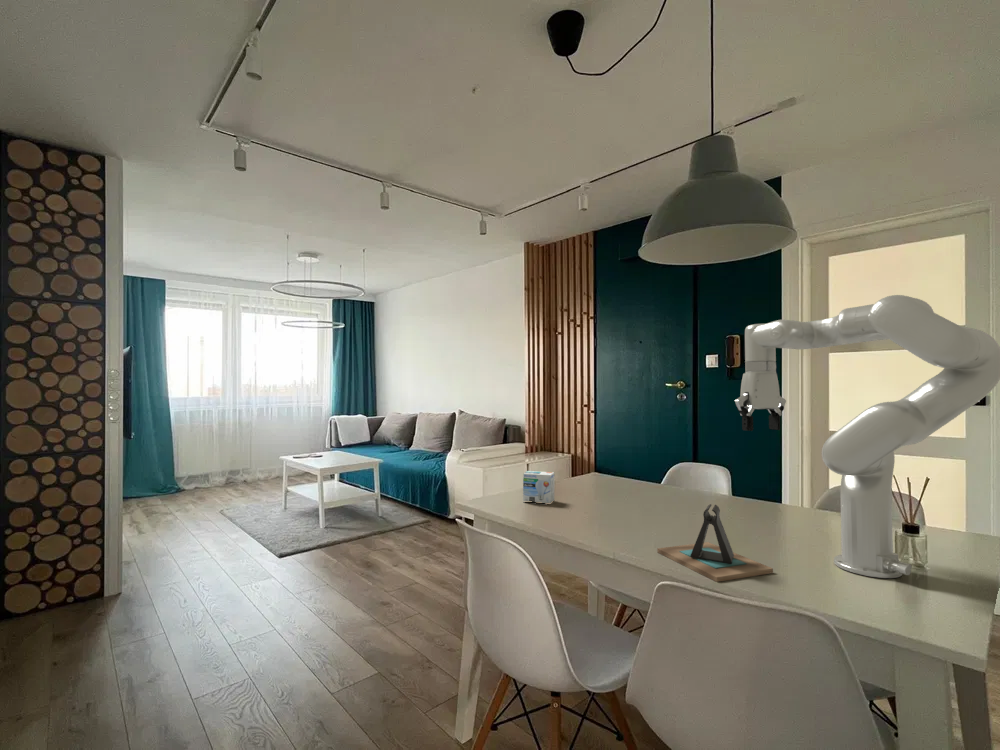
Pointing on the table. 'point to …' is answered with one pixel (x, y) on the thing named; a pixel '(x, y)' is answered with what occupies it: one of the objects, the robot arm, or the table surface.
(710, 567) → the wooden board
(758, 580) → the table surface
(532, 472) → the light bulb box
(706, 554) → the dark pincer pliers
